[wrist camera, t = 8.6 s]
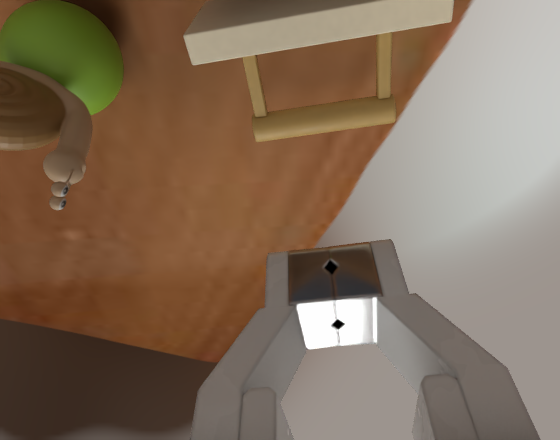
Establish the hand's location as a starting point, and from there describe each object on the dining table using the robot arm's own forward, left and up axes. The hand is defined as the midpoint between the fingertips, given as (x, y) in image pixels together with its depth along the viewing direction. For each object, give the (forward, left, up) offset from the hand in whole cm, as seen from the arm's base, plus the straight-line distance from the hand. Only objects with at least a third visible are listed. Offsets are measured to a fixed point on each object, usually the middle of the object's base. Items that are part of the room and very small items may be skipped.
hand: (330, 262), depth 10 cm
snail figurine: (-2, -11, -16) cm, 20 cm away
